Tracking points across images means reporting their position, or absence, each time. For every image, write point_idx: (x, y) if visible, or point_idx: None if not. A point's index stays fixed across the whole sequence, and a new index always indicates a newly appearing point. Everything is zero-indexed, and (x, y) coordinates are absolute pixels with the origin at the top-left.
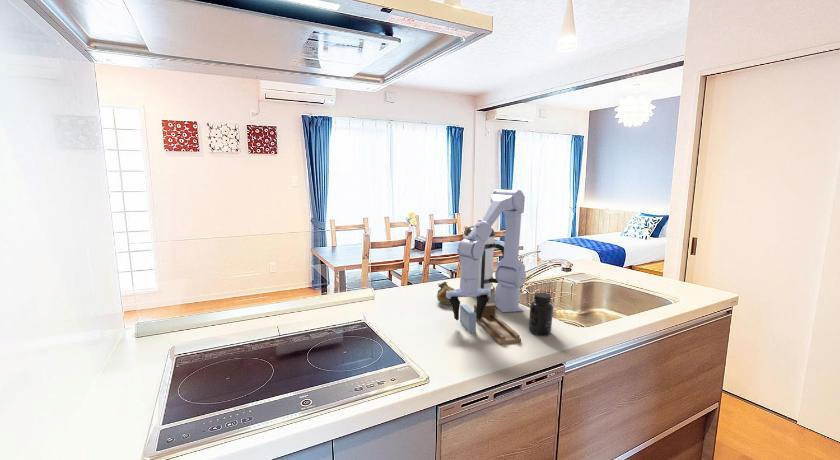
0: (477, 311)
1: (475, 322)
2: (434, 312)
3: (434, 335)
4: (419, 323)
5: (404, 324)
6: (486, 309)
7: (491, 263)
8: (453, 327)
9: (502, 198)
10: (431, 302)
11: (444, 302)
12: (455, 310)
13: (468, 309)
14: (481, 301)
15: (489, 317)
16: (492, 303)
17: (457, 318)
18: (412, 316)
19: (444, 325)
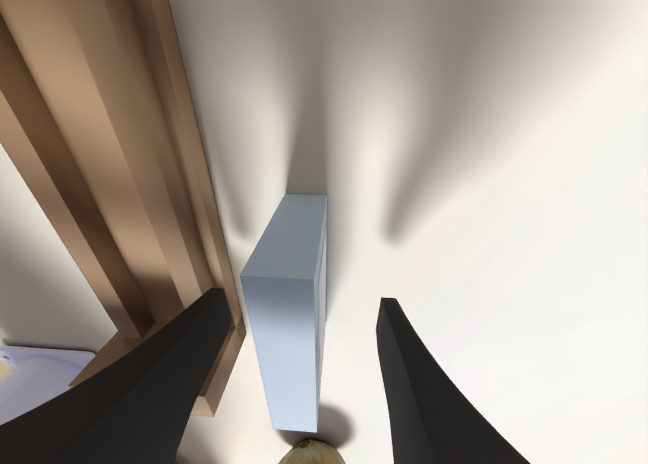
0: (212, 347)
1: (272, 227)
2: None
3: (579, 206)
4: (534, 349)
5: (615, 355)
6: None
7: None
8: (391, 277)
9: None
10: (363, 455)
11: (327, 449)
12: (443, 372)
13: (286, 370)
14: (95, 447)
15: (160, 317)
16: None
17: (393, 306)
18: (510, 401)
19: (425, 307)
